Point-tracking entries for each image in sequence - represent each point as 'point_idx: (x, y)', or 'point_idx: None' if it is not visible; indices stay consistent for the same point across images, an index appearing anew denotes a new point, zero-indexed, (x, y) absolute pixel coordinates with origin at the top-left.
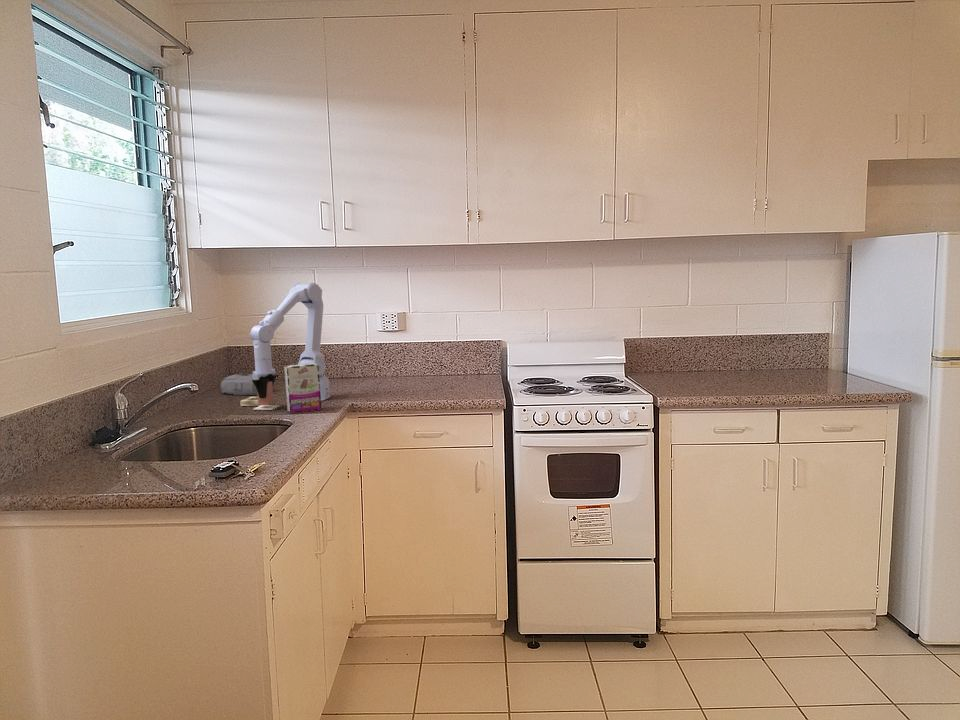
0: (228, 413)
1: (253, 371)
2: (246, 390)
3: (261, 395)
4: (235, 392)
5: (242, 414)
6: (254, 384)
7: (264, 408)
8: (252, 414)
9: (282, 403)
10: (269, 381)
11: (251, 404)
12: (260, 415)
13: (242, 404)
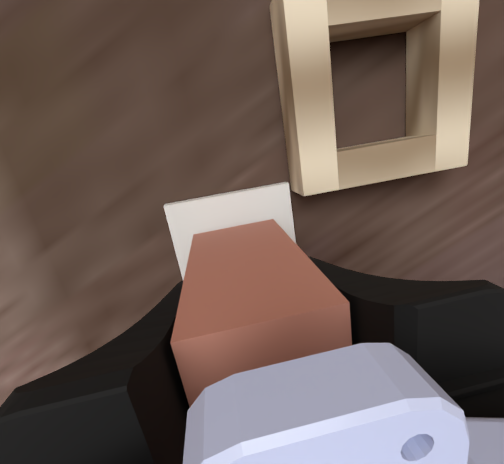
0: (11, 74)
1: (312, 447)
2: None
3: None
4: None
5: (28, 213)
6: (79, 362)
7: None
8: (56, 278)
9: (403, 245)
10: None
11: (286, 103)
12: (51, 341)
13: (276, 17)
